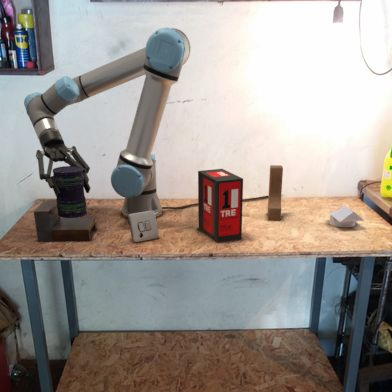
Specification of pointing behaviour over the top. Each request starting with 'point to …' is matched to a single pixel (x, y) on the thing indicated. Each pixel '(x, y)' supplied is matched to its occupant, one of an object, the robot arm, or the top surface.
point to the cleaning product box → (220, 204)
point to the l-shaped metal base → (60, 224)
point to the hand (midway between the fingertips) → (73, 193)
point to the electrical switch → (143, 226)
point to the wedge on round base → (344, 217)
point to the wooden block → (275, 192)
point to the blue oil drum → (70, 191)
